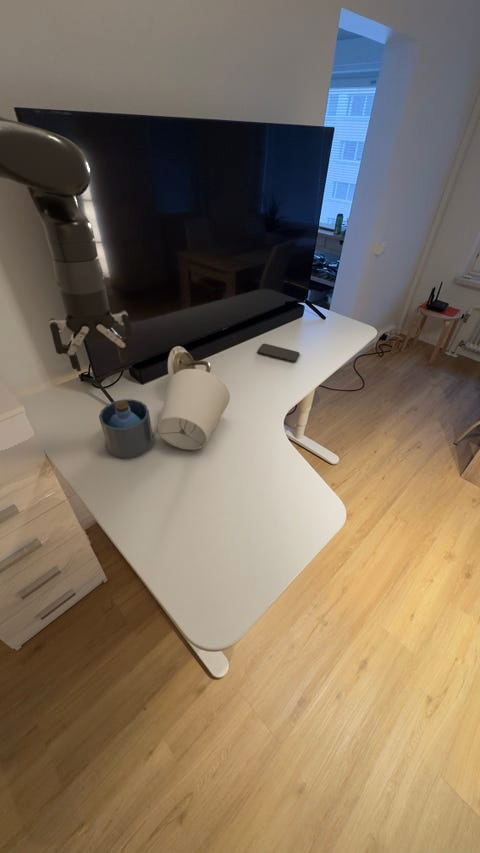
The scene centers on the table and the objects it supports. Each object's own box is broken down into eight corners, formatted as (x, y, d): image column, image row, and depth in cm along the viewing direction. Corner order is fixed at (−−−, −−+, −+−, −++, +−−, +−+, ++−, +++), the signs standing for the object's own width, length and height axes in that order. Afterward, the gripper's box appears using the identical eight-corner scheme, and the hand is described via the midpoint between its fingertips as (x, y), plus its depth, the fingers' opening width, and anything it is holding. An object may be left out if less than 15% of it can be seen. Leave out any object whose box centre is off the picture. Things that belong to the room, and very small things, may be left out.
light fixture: (249, 370, 109) (224, 454, 88) (197, 376, 116) (161, 455, 94) (234, 325, 98) (201, 408, 76) (176, 333, 104) (131, 412, 83)
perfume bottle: (127, 452, 87) (119, 416, 79) (112, 441, 90) (102, 405, 82) (146, 439, 91) (140, 404, 83) (131, 429, 93) (123, 393, 85)
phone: (295, 361, 125) (256, 351, 128) (294, 363, 125) (256, 353, 129) (300, 352, 130) (263, 342, 134) (299, 354, 131) (262, 344, 134)
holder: (111, 463, 85) (103, 434, 78) (104, 434, 92) (95, 405, 86) (158, 451, 89) (153, 422, 82) (147, 423, 97) (142, 395, 90)
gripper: (120, 274, 65) (132, 351, 75) (35, 280, 59) (61, 362, 70) (128, 288, 59) (140, 368, 70) (36, 296, 54) (64, 381, 65)
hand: (101, 365), depth 70 cm, fingers open, 8 cm apart
